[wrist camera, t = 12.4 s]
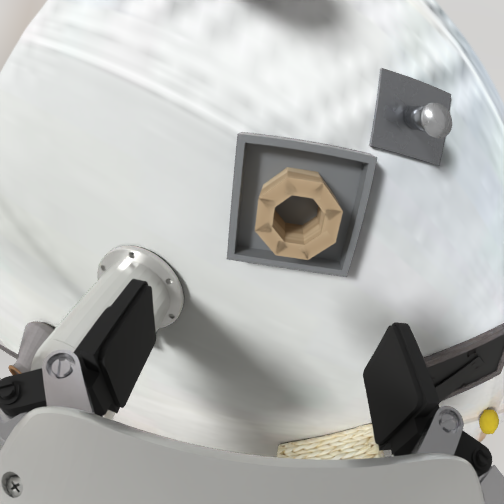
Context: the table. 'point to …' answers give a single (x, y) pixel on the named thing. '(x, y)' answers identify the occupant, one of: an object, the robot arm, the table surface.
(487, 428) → the lemon
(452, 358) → the picture frame
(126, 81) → the table surface
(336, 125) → the table surface
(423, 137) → the grey knobbed square plate
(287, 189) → the maple ring
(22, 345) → the coffee pot
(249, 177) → the charcoal tray
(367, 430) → the storage basket
